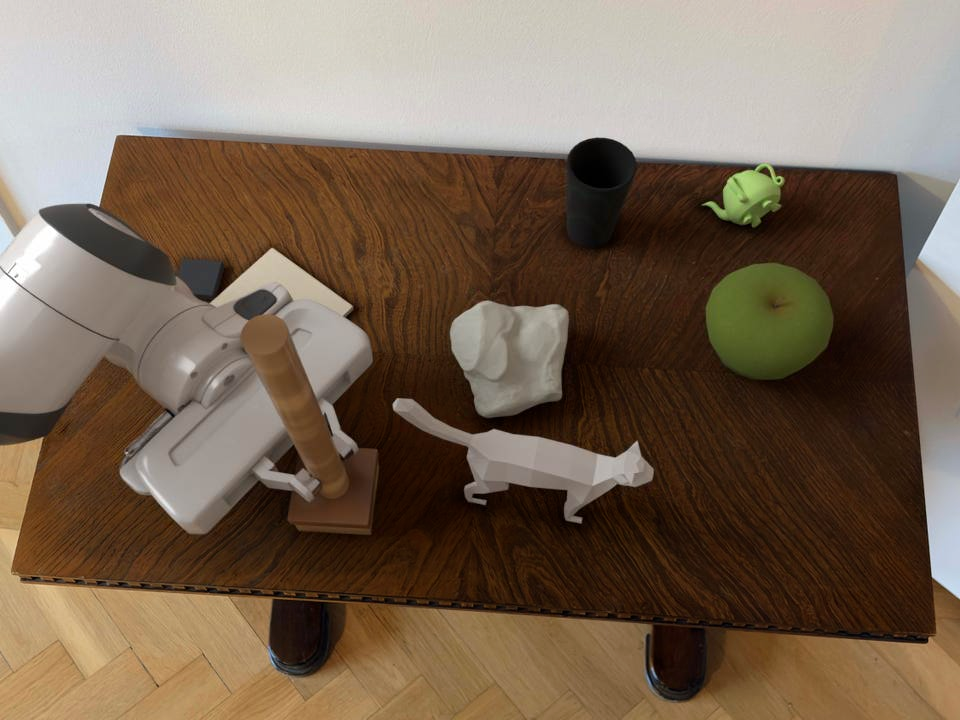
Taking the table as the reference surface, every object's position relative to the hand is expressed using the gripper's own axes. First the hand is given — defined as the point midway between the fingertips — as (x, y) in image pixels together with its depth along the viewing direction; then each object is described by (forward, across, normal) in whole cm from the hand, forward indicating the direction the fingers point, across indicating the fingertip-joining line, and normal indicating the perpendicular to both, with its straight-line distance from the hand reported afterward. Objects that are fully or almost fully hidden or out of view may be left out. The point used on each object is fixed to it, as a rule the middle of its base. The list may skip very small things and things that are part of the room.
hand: (334, 473), depth 64 cm
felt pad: (-27, +8, +9) cm, 30 cm away
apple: (+19, +35, +10) cm, 41 cm away
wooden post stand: (-1, 0, +8) cm, 8 cm away
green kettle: (+10, +48, +10) cm, 50 cm away
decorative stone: (+3, +19, +10) cm, 21 cm away
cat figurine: (+10, +10, +10) cm, 17 cm away
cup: (-1, +37, +10) cm, 38 cm away
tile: (-19, +10, +9) cm, 23 cm away
